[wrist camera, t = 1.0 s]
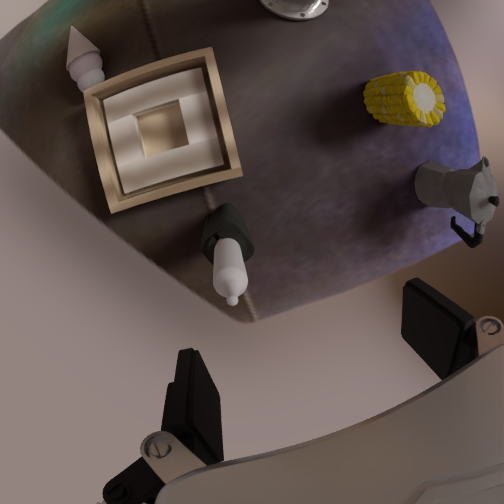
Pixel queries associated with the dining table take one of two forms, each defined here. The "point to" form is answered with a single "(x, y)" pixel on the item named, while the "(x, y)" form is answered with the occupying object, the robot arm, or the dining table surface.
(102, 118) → the box
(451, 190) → the coffeepot
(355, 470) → the robot arm
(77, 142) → the dining table surface
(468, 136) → the dining table surface
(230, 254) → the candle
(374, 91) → the food
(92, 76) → the ice cream cone
